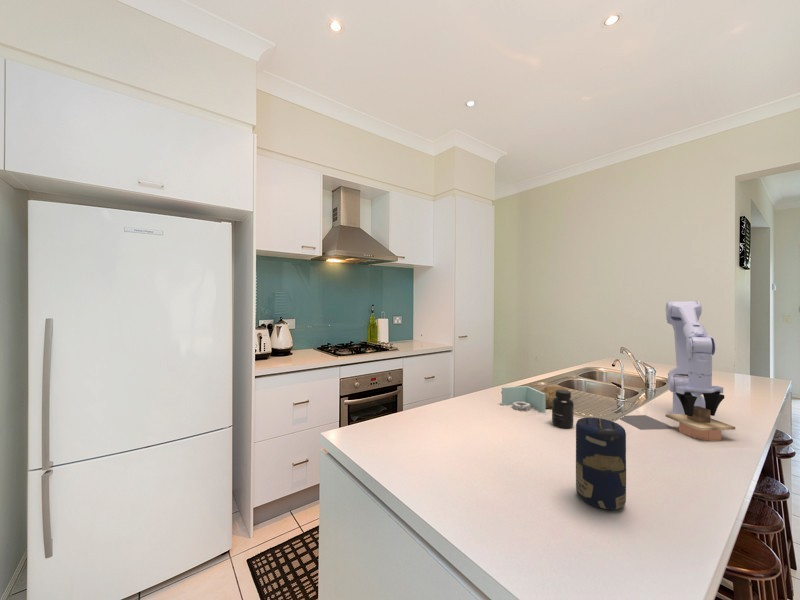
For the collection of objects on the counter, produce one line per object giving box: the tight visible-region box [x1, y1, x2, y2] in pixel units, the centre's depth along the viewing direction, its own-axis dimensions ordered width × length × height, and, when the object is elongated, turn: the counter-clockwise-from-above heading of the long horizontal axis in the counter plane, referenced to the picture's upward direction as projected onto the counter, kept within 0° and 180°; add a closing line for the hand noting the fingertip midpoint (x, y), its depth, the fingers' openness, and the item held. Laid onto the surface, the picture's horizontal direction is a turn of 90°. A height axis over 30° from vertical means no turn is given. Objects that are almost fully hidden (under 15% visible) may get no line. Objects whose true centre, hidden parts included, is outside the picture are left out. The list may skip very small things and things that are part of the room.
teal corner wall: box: [501, 385, 547, 414], centre depth 134 cm, size 12×12×8 cm
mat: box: [619, 414, 677, 431], centre depth 118 cm, size 13×13×1 cm
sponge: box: [540, 385, 569, 409], centre depth 141 cm, size 13×8×20 cm
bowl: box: [678, 422, 722, 442], centre depth 108 cm, size 10×10×4 cm
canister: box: [575, 416, 627, 510], centre depth 73 cm, size 10×10×18 cm
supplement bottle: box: [551, 390, 575, 430], centre depth 116 cm, size 7×7×12 cm
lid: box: [665, 406, 736, 431], centre depth 108 cm, size 12×12×5 cm
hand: (699, 415), depth 108 cm, fingers open, 7 cm apart
